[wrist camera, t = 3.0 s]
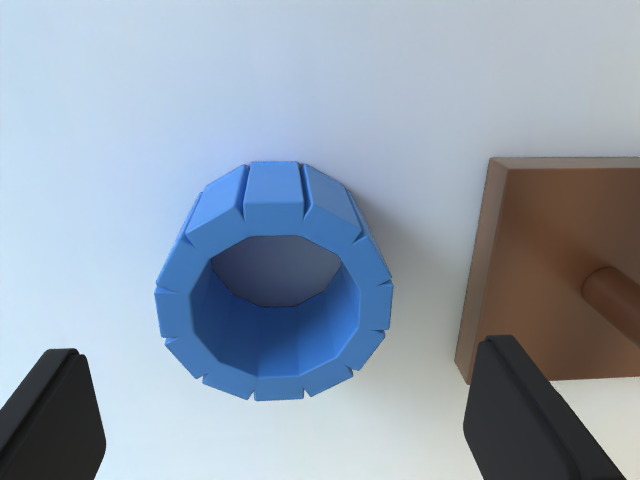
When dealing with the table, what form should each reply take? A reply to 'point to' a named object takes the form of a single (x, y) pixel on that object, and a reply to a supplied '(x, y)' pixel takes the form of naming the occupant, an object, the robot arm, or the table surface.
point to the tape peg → (558, 266)
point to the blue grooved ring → (275, 322)
